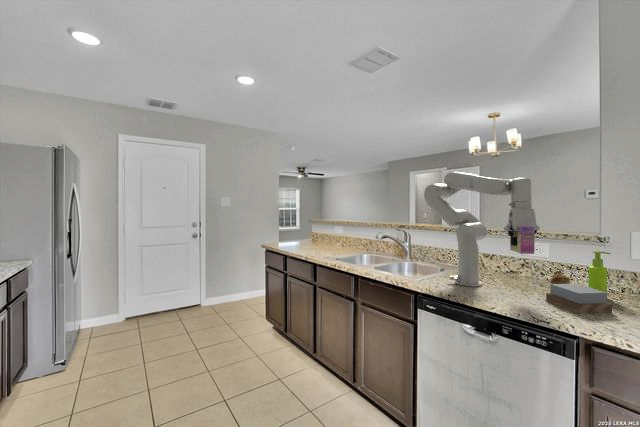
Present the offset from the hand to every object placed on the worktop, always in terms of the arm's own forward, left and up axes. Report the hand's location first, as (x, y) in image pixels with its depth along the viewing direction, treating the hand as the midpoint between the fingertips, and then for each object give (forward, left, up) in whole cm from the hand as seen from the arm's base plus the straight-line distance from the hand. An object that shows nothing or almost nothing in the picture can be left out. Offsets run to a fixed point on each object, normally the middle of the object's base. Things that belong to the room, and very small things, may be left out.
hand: (521, 244), depth 132 cm
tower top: (+11, -16, -19) cm, 27 cm away
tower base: (+11, -16, -23) cm, 30 cm away
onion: (+27, +11, -23) cm, 37 cm away
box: (0, 0, -3) cm, 3 cm away
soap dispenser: (+31, -5, -23) cm, 39 cm away
